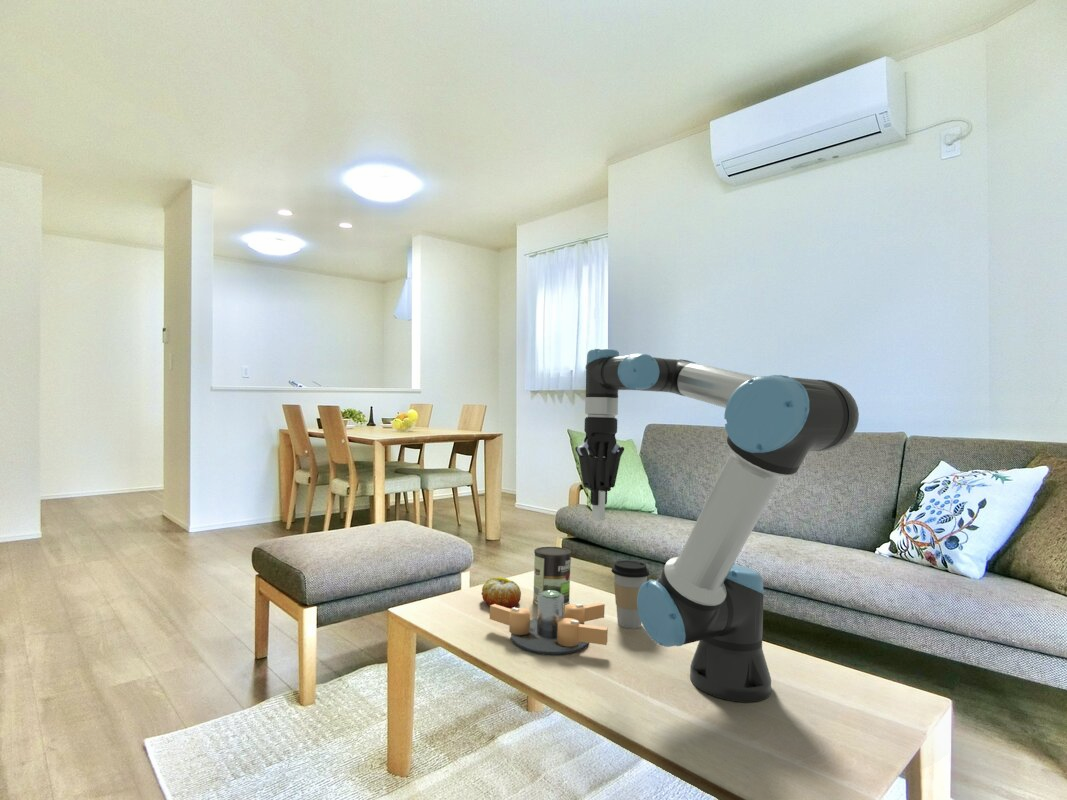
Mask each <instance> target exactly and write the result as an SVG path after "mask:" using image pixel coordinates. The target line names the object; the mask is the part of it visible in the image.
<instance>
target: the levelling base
mask: <svg viewBox="0 0 1067 800" xmlns="http://www.w3.org/2000/svg"><path fill="white" fill-rule="evenodd" d="M564 610H565V606H564V595H563V594H561V593H559V592H557V591H553V590H547V591H543V592H541V593H539V594H538V605H537V615H536V616H537V617H536V618H532V619H531V618H530V632H529V633H528V634H524V635H516V634H512V633H510V641H511V643H512V644H513V645H514V646H515V647H516V648H518V649H519V650H521V651H524V652H527V653H530V654H535V655H540V656H549V657H550V656H553V657H554V656H557V657H559V656H569V655H573V654H575V653H577V654H578V652H581V651H583V650H585V649H586V648H587V647H588V645H589V643H587V642H580V641H579V644H578V645H576V646H570V647H569V646H562V645H560V644H558V643H557V628H558V620H559V619H562V618H564Z"/></svg>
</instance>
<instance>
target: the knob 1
mask: <svg viewBox="0 0 1067 800" xmlns="http://www.w3.org/2000/svg"><path fill="white" fill-rule="evenodd" d="M531 613H532V611H531V610H530V609H528V608H526V607H525V608H523V607H513V608H506V607H503V606H500V605H496V604H493V605H490V606H489V620H491V621H493V622H498V623H500V624H504V625H507V626H508V627H509V628H508V629H509V630H508V631H509V633H510V634H511V633H512V634H516V635H524V634H528V633H529V632H530V620H531Z"/></svg>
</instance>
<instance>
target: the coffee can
mask: <svg viewBox="0 0 1067 800" xmlns="http://www.w3.org/2000/svg"><path fill="white" fill-rule="evenodd" d="M571 555H572V551H571V550H570V549H568V548H565V547H560V546H542V547H541V546H540V547H537V548H535V549H534V564H533V565H534V566H533V568H534V569H533V573H534V574H533V598H532V601H533V603H534V604H536V605H537V606H538V594H539V593H541V592H543V591H547V590H553V591H557V592H559V593H561V594H563V595H564V607H565V605H568V604H571V601H570V595H571V594H570V593H571V592H570V590H571V587H570V586H571V584H570V583H571V563H572V562H571V561H572V560H571V558H572V557H571Z"/></svg>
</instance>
